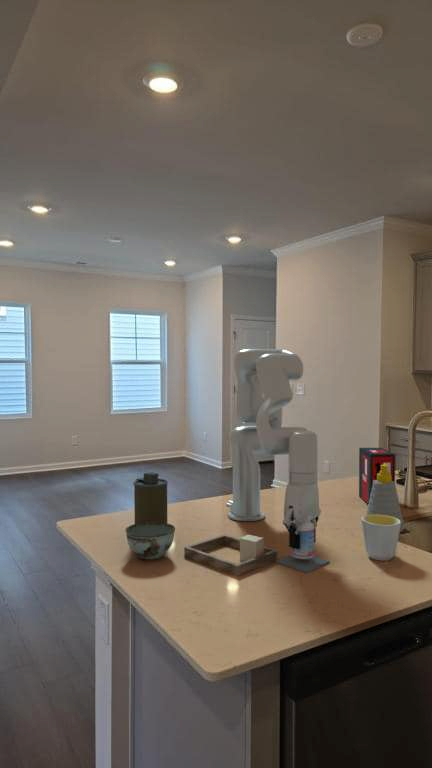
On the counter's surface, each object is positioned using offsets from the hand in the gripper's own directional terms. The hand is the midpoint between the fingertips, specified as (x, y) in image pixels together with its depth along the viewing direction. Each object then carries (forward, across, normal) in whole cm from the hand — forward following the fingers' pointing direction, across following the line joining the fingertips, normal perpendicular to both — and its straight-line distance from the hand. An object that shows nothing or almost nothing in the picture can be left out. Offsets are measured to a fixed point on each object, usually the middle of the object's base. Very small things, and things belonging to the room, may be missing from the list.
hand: (302, 544), depth 141 cm
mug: (+5, -20, +12) cm, 24 cm away
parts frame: (+5, +11, -16) cm, 20 cm away
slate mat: (+5, 0, 0) cm, 5 cm away
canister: (+5, +16, -45) cm, 48 cm away
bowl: (+5, +26, -32) cm, 41 cm away
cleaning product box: (+5, -72, -18) cm, 74 cm away
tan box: (+5, +8, -11) cm, 14 cm away
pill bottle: (+3, 0, 0) cm, 3 cm away
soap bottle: (+5, -44, 0) cm, 44 cm away
